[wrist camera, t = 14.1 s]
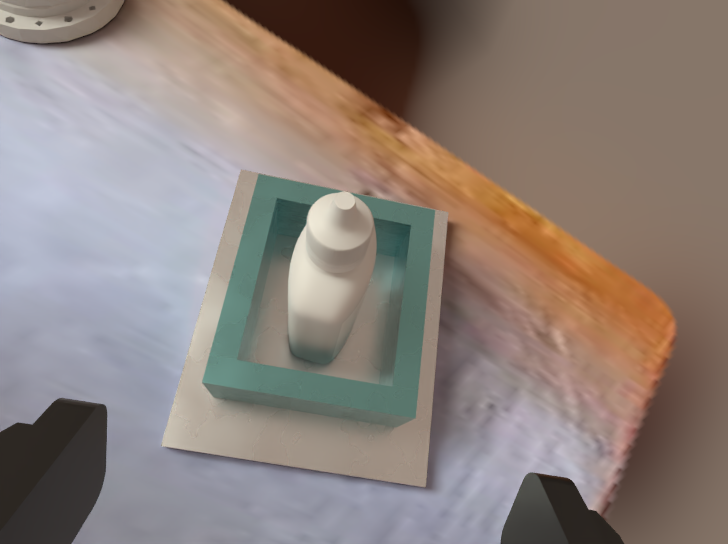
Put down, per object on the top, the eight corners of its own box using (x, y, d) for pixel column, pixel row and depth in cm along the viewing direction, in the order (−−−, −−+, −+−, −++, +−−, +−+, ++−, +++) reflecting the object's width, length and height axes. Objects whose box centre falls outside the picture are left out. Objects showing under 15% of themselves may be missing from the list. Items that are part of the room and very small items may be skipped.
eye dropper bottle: (386, 308, 28) (447, 194, 17) (314, 378, 26) (330, 300, 15) (331, 256, 29) (356, 115, 18) (257, 320, 27) (234, 206, 16)
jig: (420, 486, 26) (450, 487, 21) (165, 447, 25) (139, 438, 20) (443, 219, 32) (470, 176, 28) (242, 178, 31) (235, 126, 27)
